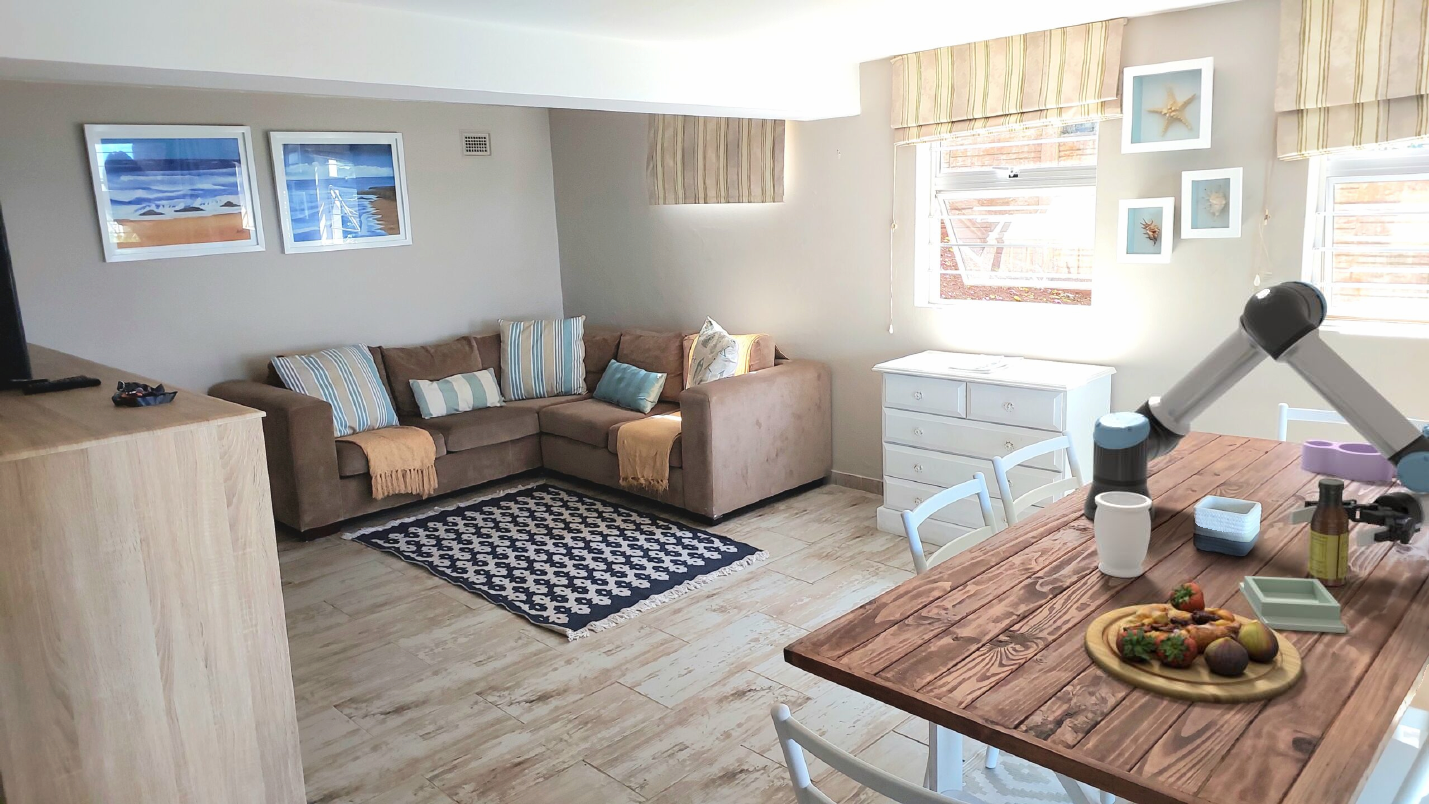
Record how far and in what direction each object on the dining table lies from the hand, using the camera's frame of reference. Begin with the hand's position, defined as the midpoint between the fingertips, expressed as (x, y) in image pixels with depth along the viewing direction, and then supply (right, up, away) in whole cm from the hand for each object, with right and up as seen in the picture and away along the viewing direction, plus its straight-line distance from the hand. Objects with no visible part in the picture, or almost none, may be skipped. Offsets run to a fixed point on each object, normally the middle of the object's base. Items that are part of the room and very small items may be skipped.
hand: (1323, 528), depth 179 cm
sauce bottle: (+2, -11, +3) cm, 11 cm away
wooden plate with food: (-36, -18, -22) cm, 46 cm away
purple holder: (+49, +5, +68) cm, 84 cm away
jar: (-32, -10, +13) cm, 36 cm away
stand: (-11, -13, -8) cm, 19 cm away
